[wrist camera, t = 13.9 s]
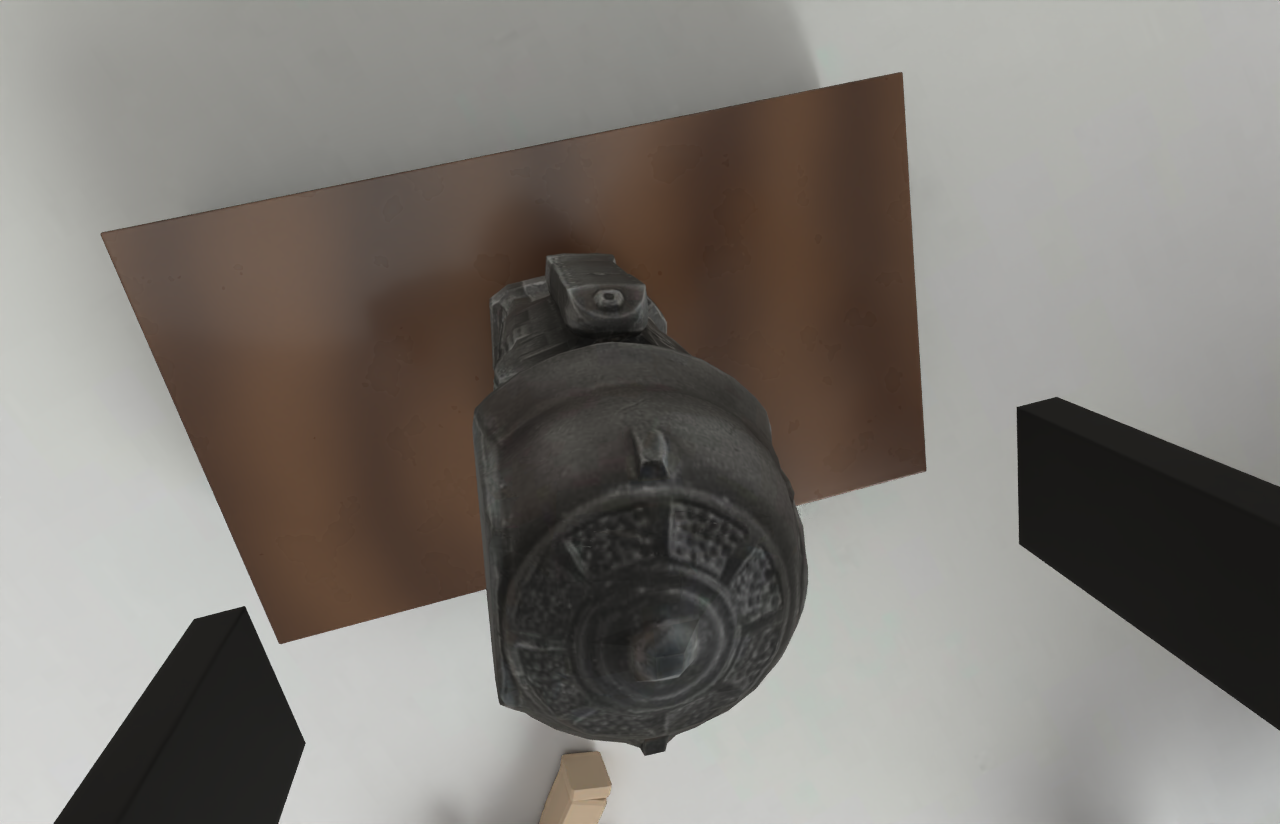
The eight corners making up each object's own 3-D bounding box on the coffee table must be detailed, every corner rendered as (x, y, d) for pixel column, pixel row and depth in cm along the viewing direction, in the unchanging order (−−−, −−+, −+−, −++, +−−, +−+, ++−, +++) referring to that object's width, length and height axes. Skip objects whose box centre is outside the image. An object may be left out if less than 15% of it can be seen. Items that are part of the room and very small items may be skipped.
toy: (661, 485, 26) (857, 859, 12) (492, 496, 25) (489, 921, 11) (667, 239, 23) (928, 348, 9) (478, 239, 22) (449, 364, 8)
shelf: (823, 90, 29) (903, 71, 23) (854, 420, 33) (927, 471, 28) (184, 219, 26) (98, 232, 20) (318, 558, 31) (279, 645, 25)
